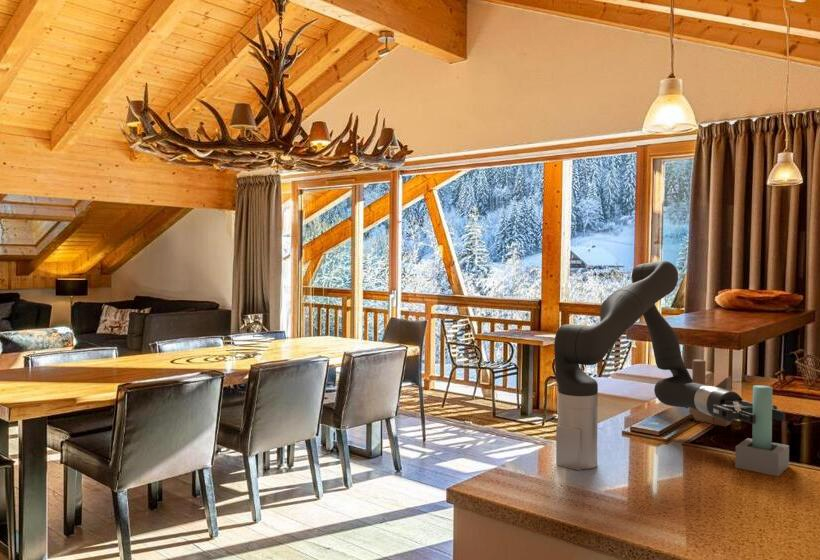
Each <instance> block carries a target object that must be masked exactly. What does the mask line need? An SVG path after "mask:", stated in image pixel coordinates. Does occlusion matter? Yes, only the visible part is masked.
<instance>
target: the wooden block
mask: <svg viewBox="0 0 820 560" xmlns="http://www.w3.org/2000/svg"><path fill="white" fill-rule="evenodd" d="M706 364H707V363H706V360H704V359H693V360H692V370H691V373H692V375H691V378H692V380H693V383H700V384H704V385H706V371H707V370H706V369H707V368H706V367H707V366H706ZM715 387H718V388H722V389H726V390H729V391H732V376H728V377H725V378H724V379H723V380H722V381H720V382H719V383H718V384H717V385H715ZM688 411H689V414H692V415H693V417H694V418H695V420H696V421H695V420H694V421H695V422H701V423H705V424H706V423H707V424H711V425H716V426H721V427H727V426H729V425H731V423H732V421H725V420H722V419H719V418H716V417H713V416H710V415H707V414H705V413H703V412H701V411H698V410H695V409H692V408H689V410H688ZM689 414H688V415H689Z"/></svg>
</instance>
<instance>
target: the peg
mask: <svg viewBox="0 0 820 560" xmlns="http://www.w3.org/2000/svg"><path fill="white" fill-rule="evenodd" d="M752 402H753V414H754V415H755V416H756V423H755V424H751V425H752V426H751V427H752V429H751V431H752V434H751V435H752V438H751V439H752V447H754V448H759V449H764V450H770V451H772V443H773V442H772V441H773V440H772V439H773V418H772V405H773V387H772V386H768V385H761V384H758V385H756V384H755V385H752Z"/></svg>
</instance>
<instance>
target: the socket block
mask: <svg viewBox="0 0 820 560" xmlns="http://www.w3.org/2000/svg"><path fill="white" fill-rule="evenodd" d="M734 453H735V458H734V459H735V462H734V463H735V466H734V467H735V468H737V469H742V470H745V471H751V472H756V473H760V474H766V475H770V476H775V477H779V476H780V475H781V474H782V473H784V472H785V471H786V470H787V468H789V466H790V445H788V444H783V443H778V442H772V451H770V450H764V449H759V448H754V447H752V438H749V437H747V438H745V439H744V440H742V441H741V442H739V443H738V444H736V445H735V451H734Z"/></svg>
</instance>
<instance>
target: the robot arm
mask: <svg viewBox="0 0 820 560" xmlns="http://www.w3.org/2000/svg"><path fill="white" fill-rule="evenodd" d="M678 282H679V271H678V270H677V267H676V266H675V264H673V263H672V262H670V261H666V260H657V261H651V262H647V263H640V264H637V265H635V266H634V267H633V269H632V272H631V283H630V284H627V285H624V286H622V287H620V288H618V289H617V290H615V291H614V292H612V293H611V294H610V295H609V296H608V297H606V298H605V299H604V301H602V303H601V306H600V309H599V318H600V322H598V323H597V324H595V325H585V324H584V325H583V324H581V325H580V324H572V323H569V324H568V323H567V324H566V323H565V324H562V325H560V326H559V328H558V329H557V331H556V333H555V336H554V342H553V343H554V345H553V346H554V347H553V348H554V349H553V351H554V370H555V371H554V373H555V381H556V385H557V425H556V429H555V431H556V433H555V437H556V438H555V440H556V441H555V448H556V449H555V454H556V455H555V456H556V457H555V459H556V460H555V464H556V466H559V467H565V468H567V469H573V470H575V471H581V470H589V469H593V468H596V467H597V465H598V416H599V415H598V408H599V407H598V406H599V405H598V403H599V401H598V399H599V398H598V397H599V384H598V381H597V380H596V379H595V378H593V377H591V376H590V375H588V374H586V373H585V372H584V371H583V369H582V368H581V367H580V365H583V366H594V365H597V364H598V363H600V362H601V361H602V360H603V359H604V358H605V356H606V355H607V354H608V353H609V351H610V350H611V349H612V347H613V346H614V345H615V344H616V342H617V341H618V340H619V339H620V337H622V336H623V334H624V333H626V332H627V330H629V328H631V327H632V326H633V325H634V324H635V323H636V322H637V321H638V320H640V319H641V318H642V316H643V319H644V322H645V325H646V327H647V330H648V332H649V333H648V334H649V337H650V341H651V345H652V351H653V356H654V361H655V365H656V367H657V369H659V370H662V371H663V370H664V371H670V372H671V376H669V377H667V378H662V379H660V380H658V381H656V384H655V385H654V389H653V392H654V395H655V397H656V399H657V400H658V401H659V402H661V403H662V404H664V405H666V406H669V407H677V408H689V409H690V408H692V409H695V410H698V411H701V412H703V413H705V414H707V415H710V416H713V417H716V418H719V419H722V420H725V421H731V422H733V421H737V422H745V423H748V424H751V425H752V424H755V423H756V416H755V415H754V414H753V401H749V400H743V398H742V396H741V395H740V394H739V393H737V392H735V391H732V390H731V391H729V390H726V389H722V388H718V387H716V386H714V385H707V384H705V385H704V384H700V383H693V380H692V375H691V374H690V373H689V370H688V369H687V367H686V364H685V363H684V360H683V356H682V351H681V346H680V341H679V338H678V334H676V332H675V330H674V328H673V327H672V326H671V324H669V322H668V321H667V320H666V319H665V318H664V317H663V315H662V314H661V313H660V311H659V309H658V307H657V303H658V302H659V301H660V300H662V299H663V298H666V297H667V296H668V295H669V294H671V293H672V292H673V291H675V289H676V287H677V285H678ZM772 420H776V421H780V422H785V421H786V412H785V411H783V410H779V409H778V406H777V405H774V404H772Z"/></svg>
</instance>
